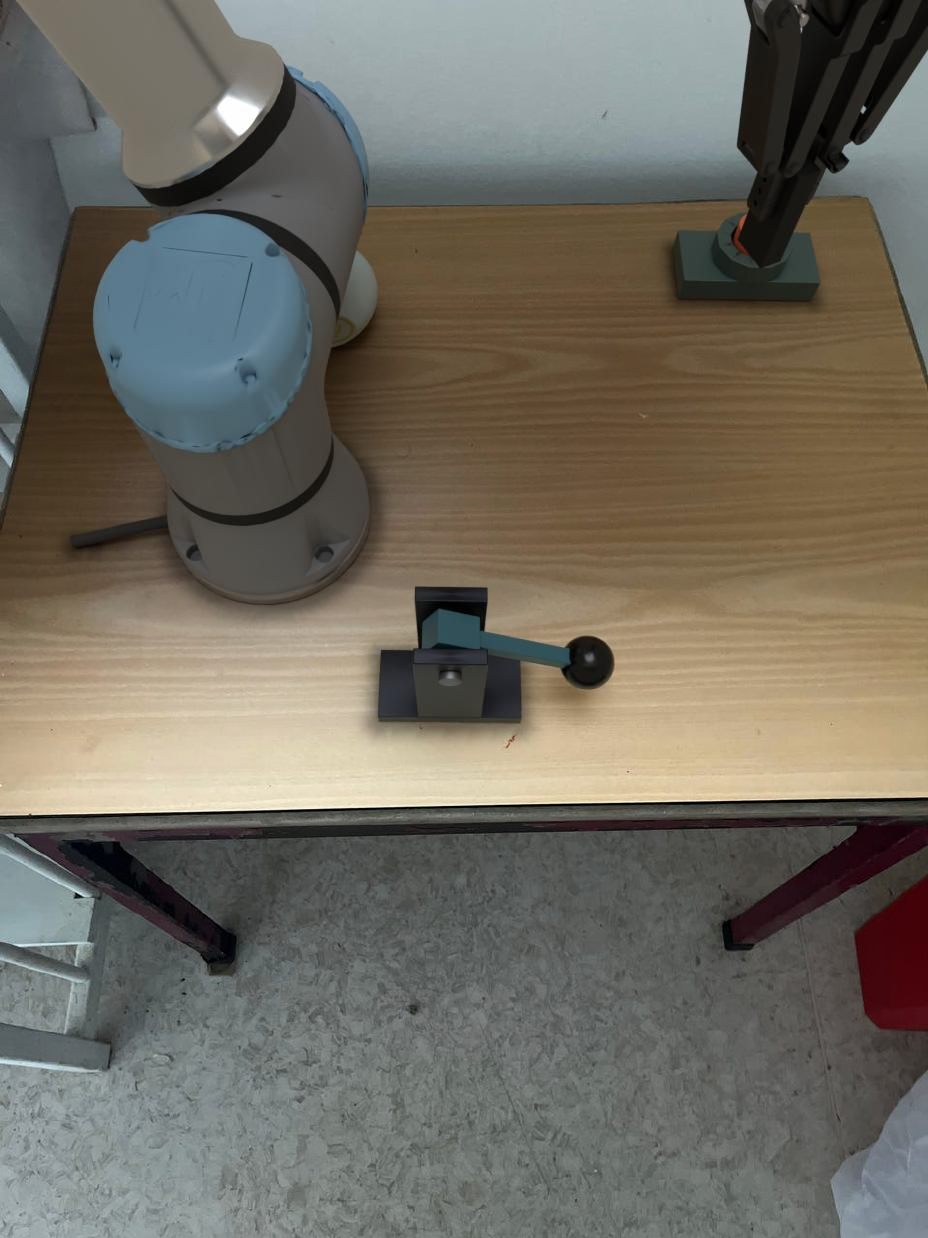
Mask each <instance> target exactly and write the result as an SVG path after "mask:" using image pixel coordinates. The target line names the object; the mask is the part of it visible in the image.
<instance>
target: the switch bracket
mask: <svg viewBox="0 0 928 1238" xmlns="http://www.w3.org/2000/svg"><path fill="white" fill-rule="evenodd" d="M488 588H489V587H487V586H424V585H423V586H421V585H419V586H414V610H415V625H416V636H417V647H415V648H413V649H380V660H379V661H380V662H379V679H378V702H377V719H378V721H379V722H389V723H390V722H391V723H392V722H393V723H394V722H397V723H399V722H401V723H480V724H481V723H482V724H483V723H484V724H485V723H490V724H491V723H492V724H493V723H494V724H497V723H498V724H501V723H502V724H520V723H521V722H522V678H521V675H522V674H521V672H522V671H521V661H520V660H515V659H509V658H504V657H499V656H493V655H488V650H487V649H428V648H422V625H423V622H424V621H425V620H426V619H427V618H428V617H430V616H431V615H432V614H433V613H434V612H435V611H437V610H438V609H443V610H448V611H453V612H457V613H462V614H467V615H472V616H477V617H480V631H485V632H486V624H487V623H486V622H487V613H488V605H489V589H488Z"/></svg>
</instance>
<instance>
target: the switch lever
mask: <svg viewBox="0 0 928 1238" xmlns="http://www.w3.org/2000/svg"><path fill="white" fill-rule="evenodd" d="M422 648H428V649H487V650H488V655H493V656H499V657H504V658H509V659H515V660H520V662H525V663H531V664H536V665H542V666H547V667H552V668H556V669H557V668H558V669H559V670H560V672H561V674H562V677H563V678H564V680H565V681H566V682H567V683H568V684H569V685H571V686H572V687H573V688H575V689H578V690H583V691H593V690H597V689H598V688H601V687H603V686H604V685H605V684H607V683H608V682H609V680H610V679H611V677H612V676H613V673H614V670H615V665H616V659H615V655H614V652H613V650H612V648H611V647H610V646H609V644H608V643H607V642H606V641H605V640H603V639H602V638H599V637H598V636H595V635H579V636H577V637H575V638H573V639H570V641H569V642H567V643H566V644H565V646H559V645H554V644H549V643H543V642H540V641H539V642H538V641H534V640H529V639H523V638H519V637H515V636H509V635H504V634H500V633H495V632H491V631H490V632H489V631H486V630H485V631H480V617H477V616H472V615H467V614H462V613H457V612H453V611H448V610H443V609H438V610H437V611H435V612H434V613H433V614H432V615H431V616H430V617H428V618H427V619H426V620H425V621H424V622H423V625H422Z"/></svg>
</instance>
